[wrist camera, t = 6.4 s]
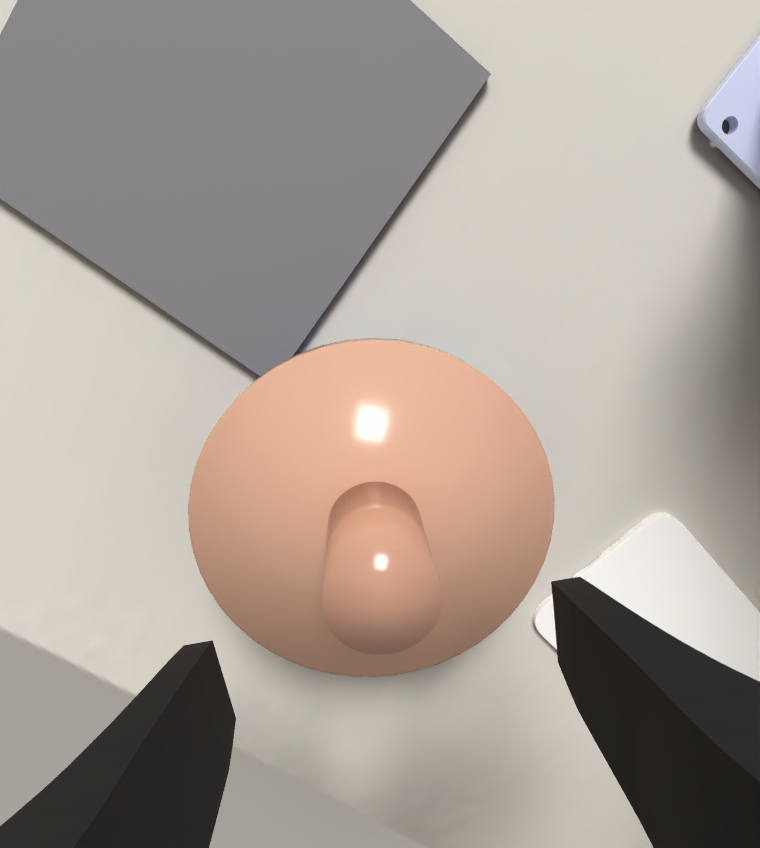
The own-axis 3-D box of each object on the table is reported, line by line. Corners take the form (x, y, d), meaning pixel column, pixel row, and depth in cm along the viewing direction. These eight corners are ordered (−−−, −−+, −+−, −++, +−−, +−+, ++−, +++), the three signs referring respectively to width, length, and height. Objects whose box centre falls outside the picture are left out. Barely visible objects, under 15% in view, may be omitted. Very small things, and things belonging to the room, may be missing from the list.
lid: (560, 336, 16) (646, 365, 11) (531, 653, 19) (590, 777, 14) (177, 339, 15) (104, 370, 11) (211, 665, 18) (166, 799, 14)
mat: (487, 78, 17) (490, 74, 17) (274, 382, 19) (272, 385, 19) (146, -233, 15) (141, -246, 14) (-52, 159, 17) (-62, 156, 17)
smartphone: (668, 505, 21) (857, 721, 25) (658, 498, 22) (842, 708, 26) (525, 621, 23) (724, 811, 26) (519, 610, 23) (714, 797, 27)
